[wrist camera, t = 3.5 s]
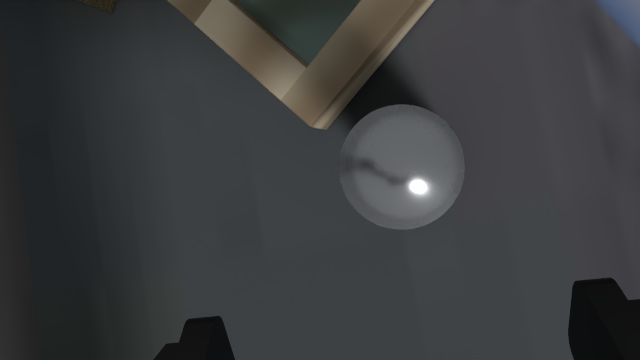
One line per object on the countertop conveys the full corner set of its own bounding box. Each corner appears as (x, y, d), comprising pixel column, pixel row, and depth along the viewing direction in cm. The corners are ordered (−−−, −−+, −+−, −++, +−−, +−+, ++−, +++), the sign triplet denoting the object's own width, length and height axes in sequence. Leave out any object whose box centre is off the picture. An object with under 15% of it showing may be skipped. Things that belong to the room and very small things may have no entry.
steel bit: (367, 166, 30) (314, 173, 19) (417, 108, 30) (394, 78, 18) (424, 216, 30) (406, 255, 18) (476, 158, 29) (492, 161, 17)
